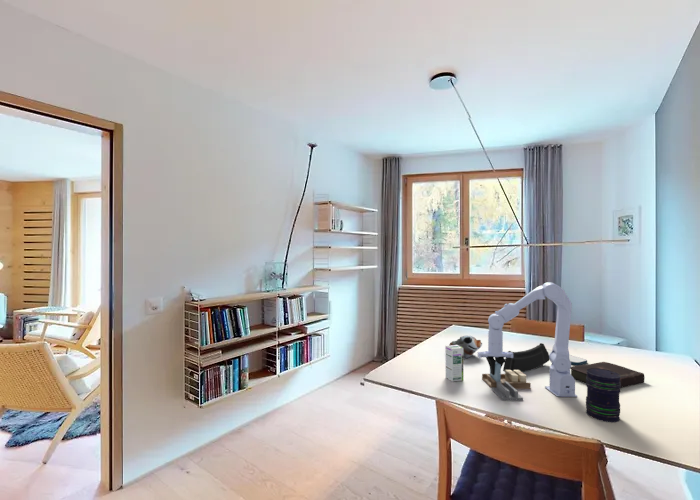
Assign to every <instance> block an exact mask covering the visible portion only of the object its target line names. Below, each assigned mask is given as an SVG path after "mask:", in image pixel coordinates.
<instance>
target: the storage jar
mask: <svg viewBox="0 0 700 500" xmlns="http://www.w3.org/2000/svg"><path fill="white" fill-rule="evenodd" d="M585 384H586V397H585V407H586V409H585V410H586V411H585V413H586V414H587V416H589V417H591V418H592V419H595V420H597V421H601V422H606V423H617V422H619V421H621V420H620V419H621V418H620V416H621V403H620V393H621V389H622V388H620V387H621V383H620V375H619V374H618V373H616V372H613V371H610V370H605V369H598V368H590V369H587V377H586V383H585Z"/></svg>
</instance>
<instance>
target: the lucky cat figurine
mask: <svg viewBox="0 0 700 500" xmlns="http://www.w3.org/2000/svg"><path fill="white" fill-rule="evenodd" d="M450 345H459V346H461V347H463V359H469V358H471V357H472V356H473V355H474V354H475V353H476V352H477V351H478V350H480V348H481V347H482V346H483V342H482V340H481V339H477V338H476V337H474V336H473V335H463V336H462V335H461V336H460V337H459V338H458V339H456V340H453V341H451V342H450V343H449V344H448V346H450Z"/></svg>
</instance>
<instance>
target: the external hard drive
mask: <svg viewBox="0 0 700 500" xmlns="http://www.w3.org/2000/svg"><path fill="white" fill-rule="evenodd" d="M546 349H547V352H548V354H549V355H550V353H551V352H552V349H549V348H546ZM569 359H570V362H571V366H577V365H588V360H587V358H584V357H580V356H576V355H571V354H569Z"/></svg>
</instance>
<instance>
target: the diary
mask: <svg viewBox="0 0 700 500" xmlns="http://www.w3.org/2000/svg"><path fill="white" fill-rule="evenodd" d="M590 368H598V369H605V370H610V371H613V372H616V373H618V374H619V375H620V383H621V387H620V389H622V388H628V387H631V386H635V385H639V384H643V382H644V383H645V378H646V377H645V373H643V372H640V371H637V370H634V369H630V368H627V367H624V366H622V365H618V364H615V363H611V362H607V361H600V362H595V363H594V362H593V363H589V364H588V363H587V364H583V365H571V368H570V374H571V375H572V376H573V378H574V379H575V381H577V382H581V383H583V384H586V377H587V369H590Z"/></svg>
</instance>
